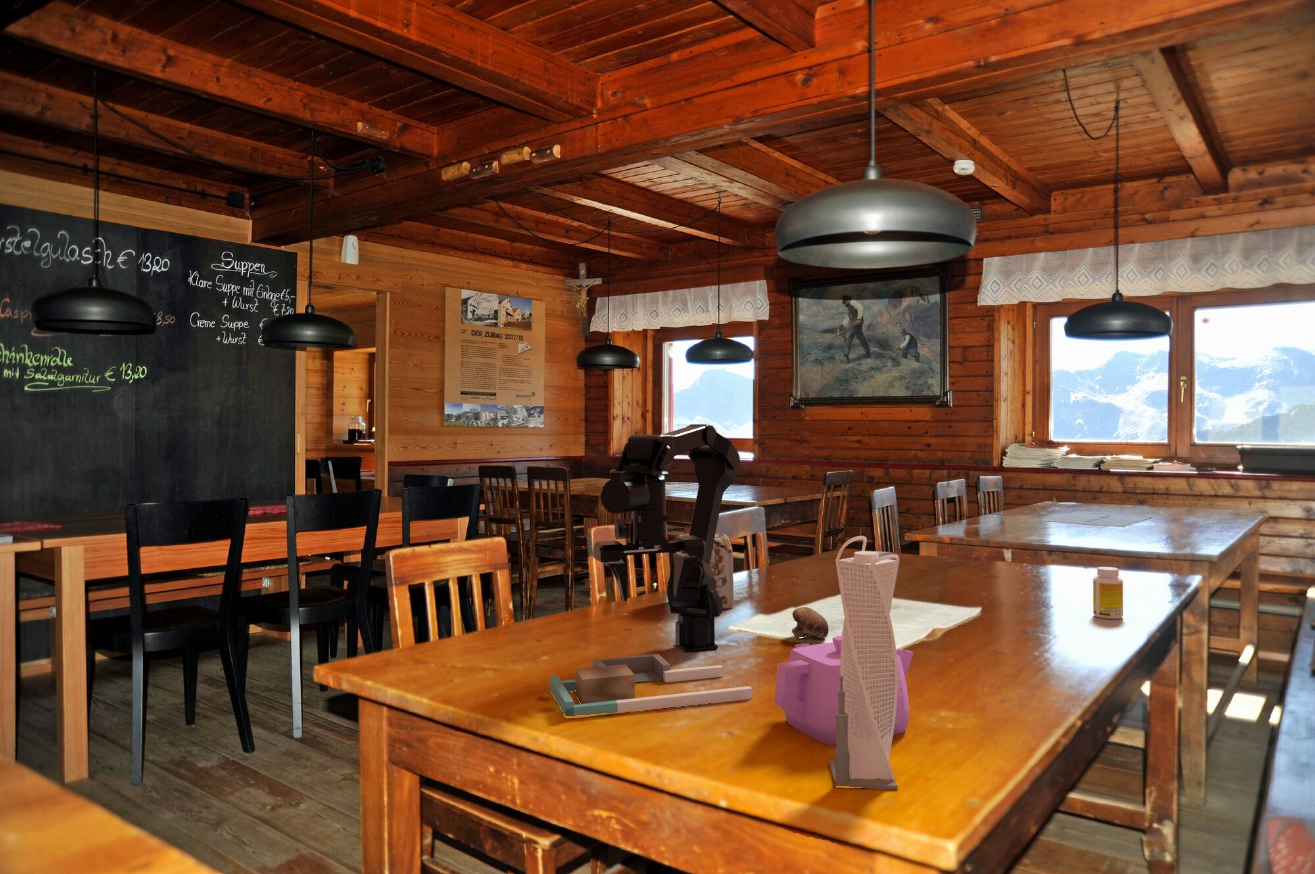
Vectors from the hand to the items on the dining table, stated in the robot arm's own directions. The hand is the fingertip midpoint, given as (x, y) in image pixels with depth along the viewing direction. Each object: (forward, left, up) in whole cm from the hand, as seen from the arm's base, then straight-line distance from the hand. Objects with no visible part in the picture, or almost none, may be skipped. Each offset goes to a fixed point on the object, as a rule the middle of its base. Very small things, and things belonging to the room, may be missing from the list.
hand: (650, 598), depth 150 cm
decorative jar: (-26, -45, -12) cm, 54 cm away
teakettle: (-18, +36, -12) cm, 42 cm away
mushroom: (-35, -9, -12) cm, 38 cm away
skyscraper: (-12, +52, -12) cm, 54 cm away
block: (+12, +14, -12) cm, 22 cm away
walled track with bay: (+5, +11, -12) cm, 17 cm away
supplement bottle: (-101, -4, -12) cm, 102 cm away
